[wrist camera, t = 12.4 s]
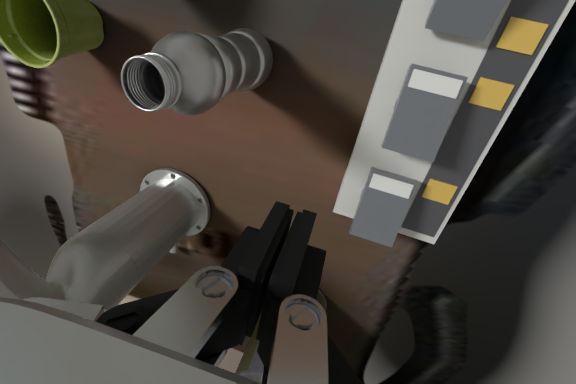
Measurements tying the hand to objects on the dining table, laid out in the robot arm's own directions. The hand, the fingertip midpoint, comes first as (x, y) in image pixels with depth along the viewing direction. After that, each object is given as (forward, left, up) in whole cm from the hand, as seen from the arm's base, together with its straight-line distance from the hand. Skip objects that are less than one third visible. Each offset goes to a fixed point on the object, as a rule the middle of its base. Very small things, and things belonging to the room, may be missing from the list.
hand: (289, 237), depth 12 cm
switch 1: (-10, -7, -22) cm, 25 cm away
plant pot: (0, +37, -29) cm, 47 cm away
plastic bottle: (+1, +13, -29) cm, 32 cm away
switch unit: (+1, -8, -29) cm, 30 cm away
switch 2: (+1, -7, -22) cm, 23 cm away
